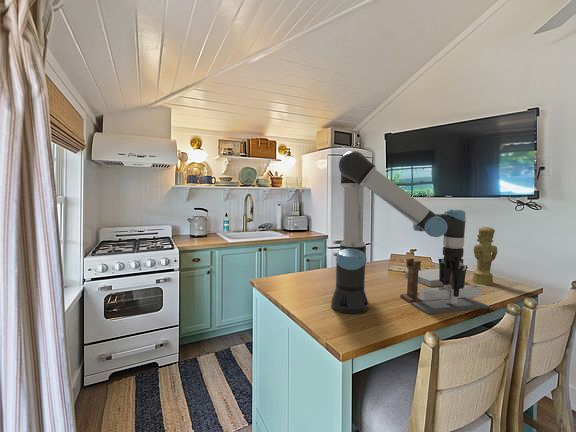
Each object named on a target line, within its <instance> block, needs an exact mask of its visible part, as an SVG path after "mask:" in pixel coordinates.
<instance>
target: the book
mask: <svg viewBox="0 0 576 432" xmlns="http://www.w3.org/2000/svg"><path fill="white" fill-rule="evenodd" d="M404 277H405V278H406V279H408V271H406V272H404ZM442 279H443V278H442ZM419 283H420V284H422V285H424V286H427V287H428V288H433V287H439V286H440V287H441V286H443V284H442V282H440V281H439V268H433V269H432V268H431V269H422V270H421V269H420V270H418V284H419Z"/></svg>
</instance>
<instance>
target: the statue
mask: <svg viewBox="0 0 576 432" xmlns="http://www.w3.org/2000/svg"><path fill="white" fill-rule="evenodd" d="M495 231H496V229H494V228H492V227H489V226H482V227H479V228H478V234H476V236H477V239H476V241H477V242H479V243H478V244H475V245H474V246H473V253H474V254H473V255H474V258H475V259H476V260H477V261H476V267H477V268H476V269H475V270H474V271H473V276H472V277H471V280H470V281H471V282H472V283H475V284H477V283H478V284H479V285H482V286H483V285H485V286H493V285H494V284H495V283H494V279H493V276H494V275H493V273H491V269H492V268H491V267H492V262H493V261H494V260H495V259H496V258H497V254H498V247H497V246H496V245H492V243H493V242H494V235H495Z"/></svg>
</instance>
